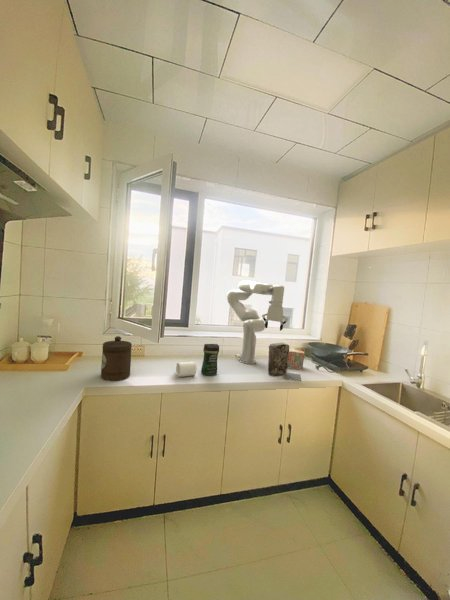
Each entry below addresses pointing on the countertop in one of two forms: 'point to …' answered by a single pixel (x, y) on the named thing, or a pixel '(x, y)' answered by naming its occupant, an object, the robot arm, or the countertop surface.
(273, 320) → the robot arm
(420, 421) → the countertop surface
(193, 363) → the mug
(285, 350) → the stone block
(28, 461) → the countertop surface
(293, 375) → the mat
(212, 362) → the coffee jar
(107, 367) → the wooden container
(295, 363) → the stack of blocks
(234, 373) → the countertop surface
